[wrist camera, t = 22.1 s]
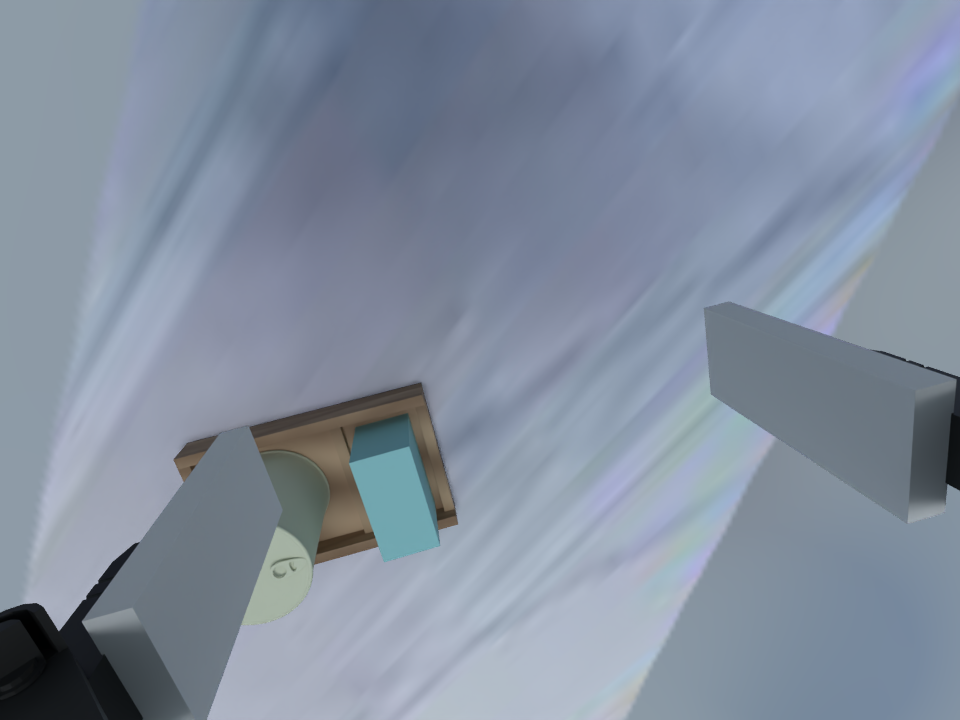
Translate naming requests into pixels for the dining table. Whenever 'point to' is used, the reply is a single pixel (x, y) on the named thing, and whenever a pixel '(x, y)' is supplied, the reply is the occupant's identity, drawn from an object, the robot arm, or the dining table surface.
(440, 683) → the dining table surface
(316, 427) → the cradle jig
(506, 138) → the dining table surface
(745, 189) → the dining table surface
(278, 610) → the can
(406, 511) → the wing block
